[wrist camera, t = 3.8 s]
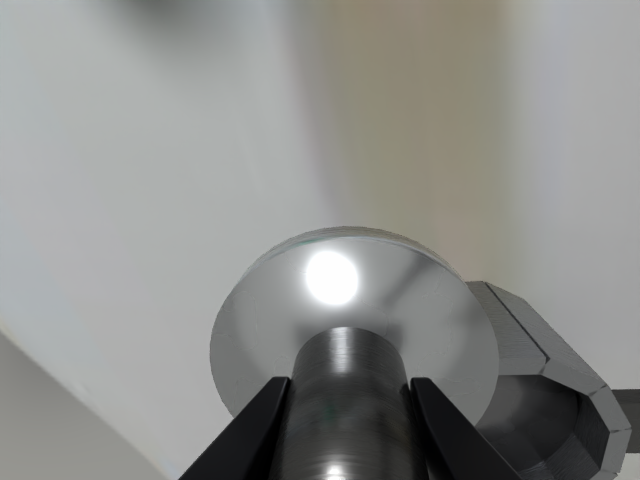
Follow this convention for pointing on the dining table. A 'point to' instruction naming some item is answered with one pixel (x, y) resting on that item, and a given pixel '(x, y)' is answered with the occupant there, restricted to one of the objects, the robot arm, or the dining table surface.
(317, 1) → the dining table surface
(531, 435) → the pot
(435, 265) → the lid
